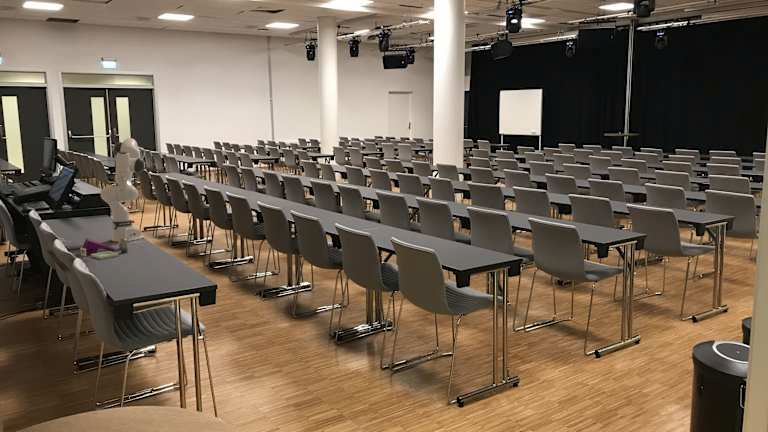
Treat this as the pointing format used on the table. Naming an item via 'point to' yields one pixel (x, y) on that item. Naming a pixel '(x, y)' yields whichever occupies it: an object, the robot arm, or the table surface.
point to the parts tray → (104, 255)
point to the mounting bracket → (95, 246)
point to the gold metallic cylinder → (120, 243)
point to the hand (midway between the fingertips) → (122, 197)
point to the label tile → (83, 252)
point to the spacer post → (123, 245)
